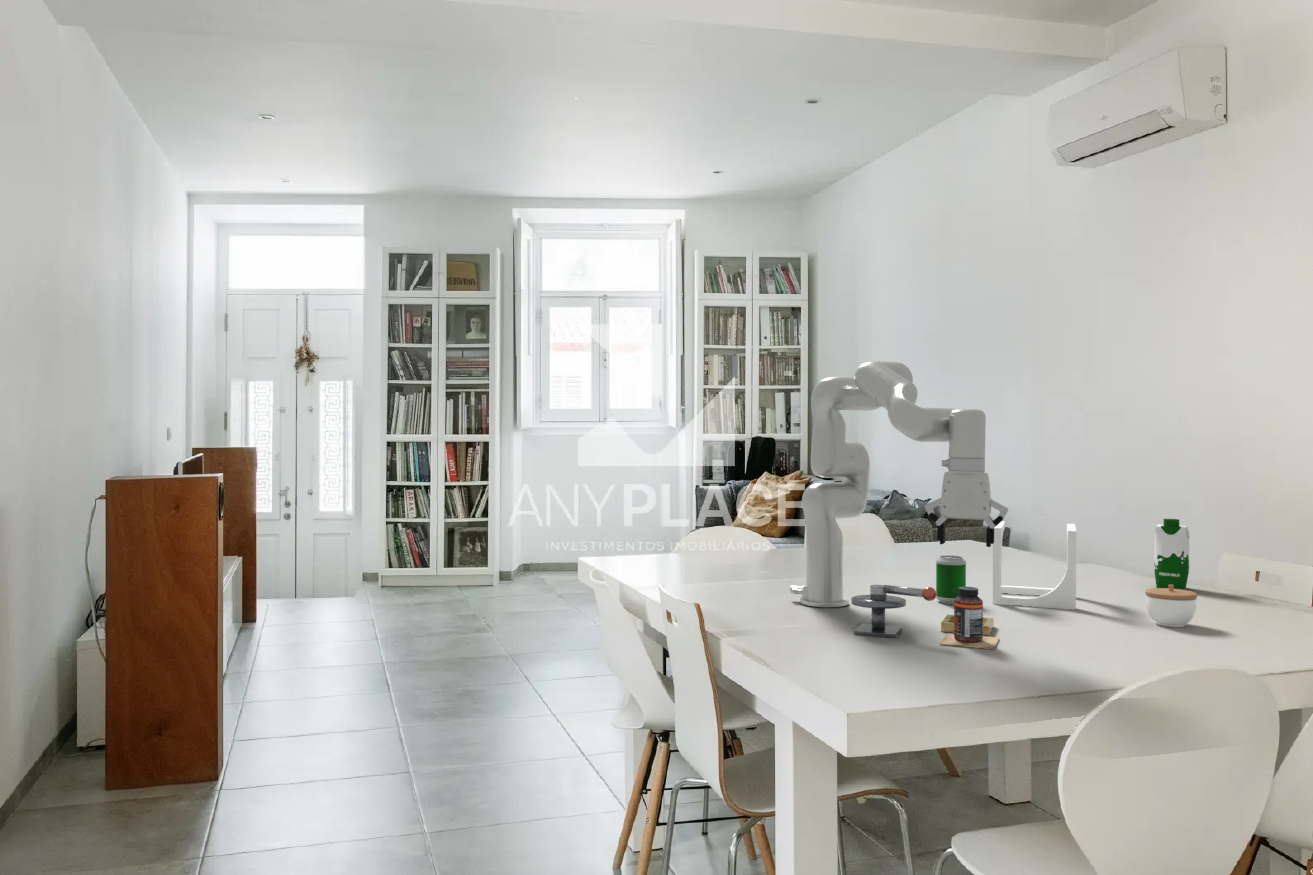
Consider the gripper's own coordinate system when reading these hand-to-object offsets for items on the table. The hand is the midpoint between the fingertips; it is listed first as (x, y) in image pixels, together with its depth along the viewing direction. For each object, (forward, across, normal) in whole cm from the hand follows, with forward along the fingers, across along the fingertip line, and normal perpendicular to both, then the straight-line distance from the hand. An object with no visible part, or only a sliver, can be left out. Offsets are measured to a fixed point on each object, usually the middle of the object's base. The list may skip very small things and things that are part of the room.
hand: (965, 544), depth 213 cm
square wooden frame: (+21, -1, +12) cm, 24 cm away
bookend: (+22, +11, +59) cm, 63 cm away
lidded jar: (+21, +42, +38) cm, 60 cm away
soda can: (+22, -9, +46) cm, 52 cm away
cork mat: (+21, +1, -2) cm, 21 cm away
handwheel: (+14, -15, 0) cm, 21 cm away
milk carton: (+21, +46, +96) cm, 108 cm away
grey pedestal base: (+21, -19, 0) cm, 28 cm away
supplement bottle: (+21, +1, -1) cm, 21 cm away
